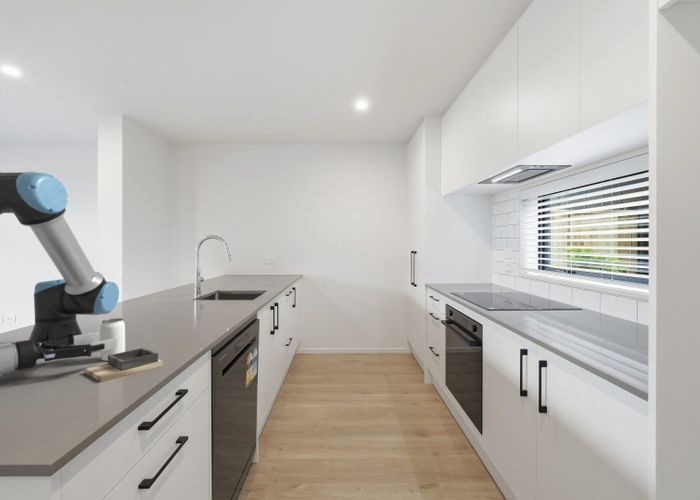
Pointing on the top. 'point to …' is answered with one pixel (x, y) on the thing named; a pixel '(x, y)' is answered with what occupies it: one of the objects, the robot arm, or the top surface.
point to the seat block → (125, 364)
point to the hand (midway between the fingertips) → (106, 339)
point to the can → (113, 336)
